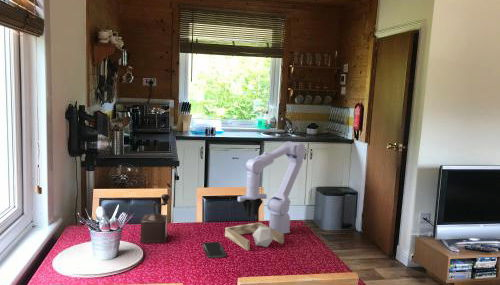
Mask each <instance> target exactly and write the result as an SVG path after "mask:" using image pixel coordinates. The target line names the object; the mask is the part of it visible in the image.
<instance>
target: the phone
mask: <svg viewBox="0 0 500 285" xmlns="http://www.w3.org/2000/svg"><path fill="white" fill-rule="evenodd" d="M201 246H202V249H203V251H204V254H205V255H206V258H207V259H224V258H227V253H226V251H225V248H224V247H223V246H222V244H221V242H220V241H214V242H213V241H211V242H210V241H209V242H208V241H207V242H203V243H202V242H201Z"/></svg>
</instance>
